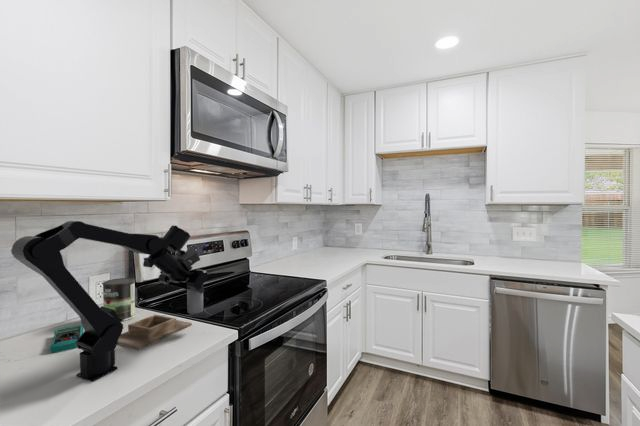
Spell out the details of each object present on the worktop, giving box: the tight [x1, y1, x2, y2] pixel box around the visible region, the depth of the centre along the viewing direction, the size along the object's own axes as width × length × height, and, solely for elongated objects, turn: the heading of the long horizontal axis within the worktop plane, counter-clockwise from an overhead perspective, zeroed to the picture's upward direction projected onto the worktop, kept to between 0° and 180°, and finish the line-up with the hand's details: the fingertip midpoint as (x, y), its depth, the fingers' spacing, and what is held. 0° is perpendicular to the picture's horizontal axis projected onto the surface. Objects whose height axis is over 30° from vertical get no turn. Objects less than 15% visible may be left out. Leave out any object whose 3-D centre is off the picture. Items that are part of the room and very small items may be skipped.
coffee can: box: [102, 277, 136, 322], centre depth 118 cm, size 10×10×14 cm
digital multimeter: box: [49, 324, 84, 354], centre depth 98 cm, size 7×15×3 cm, turn 36°
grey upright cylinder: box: [186, 280, 204, 315], centre depth 105 cm, size 5×5×12 cm
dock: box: [117, 314, 193, 351], centre depth 104 cm, size 20×14×4 cm
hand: (198, 290), depth 106 cm, fingers closed on grey upright cylinder, 5 cm apart
